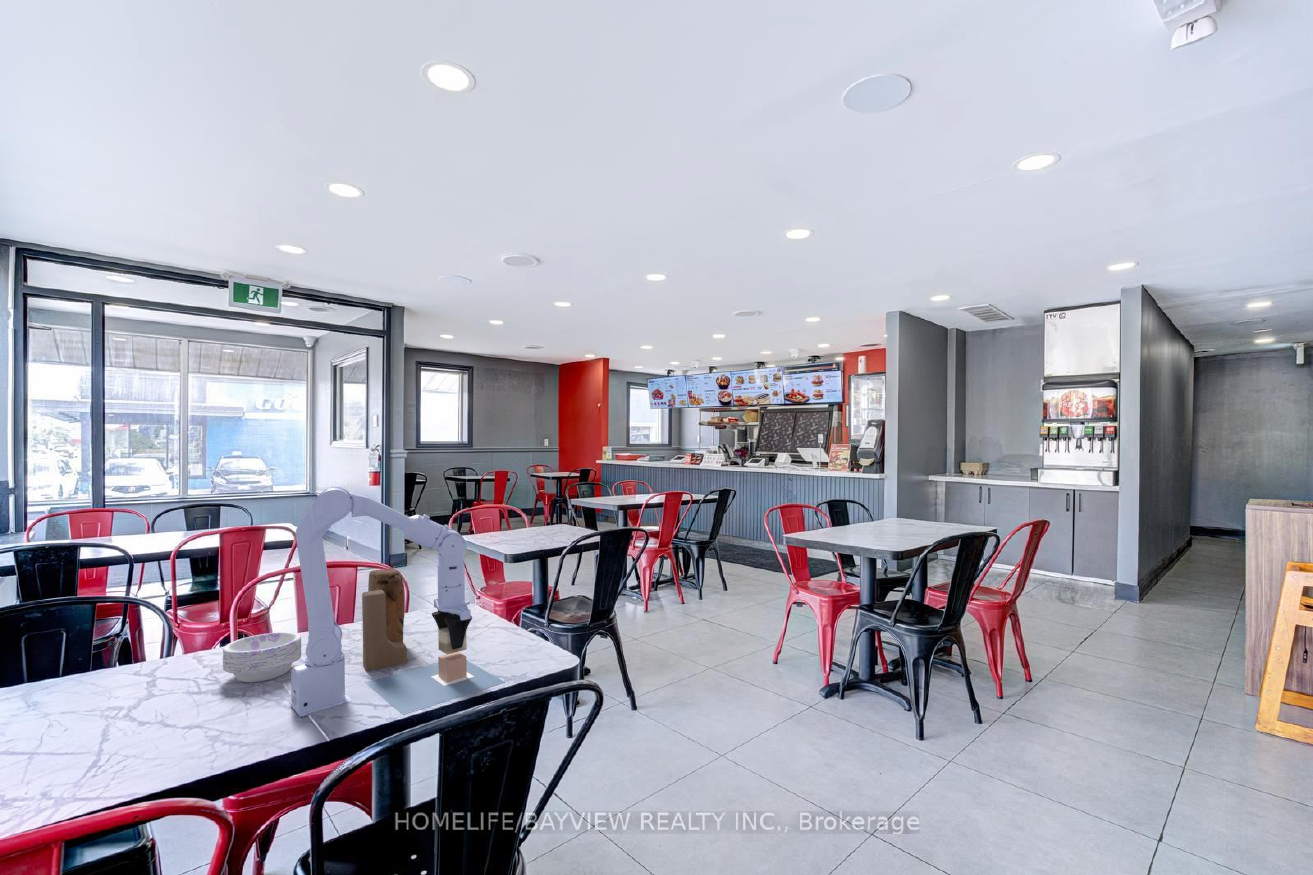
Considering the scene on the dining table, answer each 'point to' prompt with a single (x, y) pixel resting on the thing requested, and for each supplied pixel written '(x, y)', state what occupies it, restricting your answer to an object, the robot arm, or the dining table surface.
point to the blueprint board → (429, 687)
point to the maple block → (448, 642)
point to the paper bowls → (262, 656)
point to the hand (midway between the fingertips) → (452, 645)
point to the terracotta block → (452, 666)
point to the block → (391, 600)
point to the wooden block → (378, 634)
